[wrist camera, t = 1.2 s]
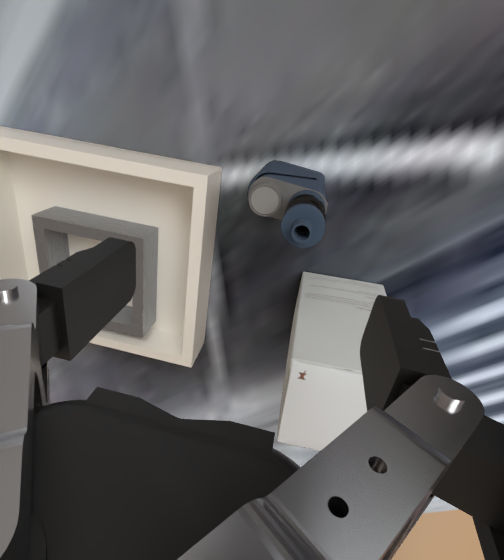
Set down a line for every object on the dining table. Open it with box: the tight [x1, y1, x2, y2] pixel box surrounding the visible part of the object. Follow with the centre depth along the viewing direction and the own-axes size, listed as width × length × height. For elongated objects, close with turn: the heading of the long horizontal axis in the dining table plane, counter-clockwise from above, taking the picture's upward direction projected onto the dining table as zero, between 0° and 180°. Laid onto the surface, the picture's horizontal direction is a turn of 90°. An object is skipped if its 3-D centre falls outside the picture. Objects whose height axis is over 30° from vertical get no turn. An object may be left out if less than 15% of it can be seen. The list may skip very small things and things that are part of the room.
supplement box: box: [277, 272, 387, 451], centre depth 28 cm, size 7×7×13 cm
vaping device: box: [247, 160, 328, 248], centre depth 24 cm, size 3×5×12 cm, turn 76°
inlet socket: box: [31, 206, 158, 337], centre depth 34 cm, size 10×10×3 cm
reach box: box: [0, 126, 222, 368], centre depth 33 cm, size 18×20×4 cm
